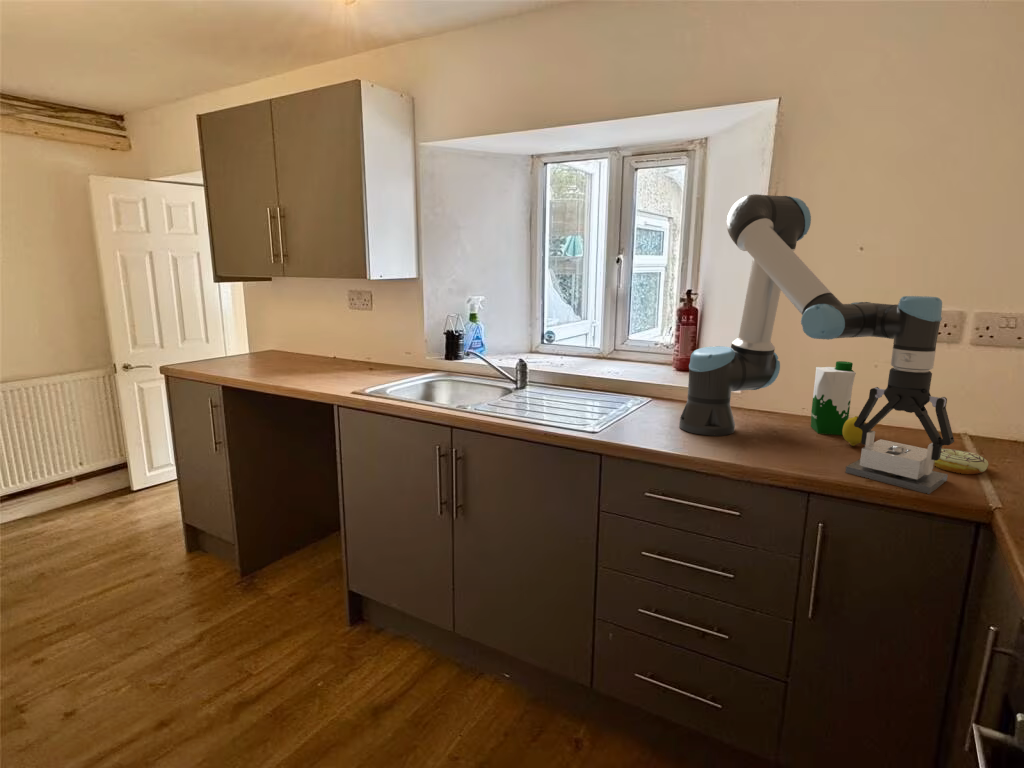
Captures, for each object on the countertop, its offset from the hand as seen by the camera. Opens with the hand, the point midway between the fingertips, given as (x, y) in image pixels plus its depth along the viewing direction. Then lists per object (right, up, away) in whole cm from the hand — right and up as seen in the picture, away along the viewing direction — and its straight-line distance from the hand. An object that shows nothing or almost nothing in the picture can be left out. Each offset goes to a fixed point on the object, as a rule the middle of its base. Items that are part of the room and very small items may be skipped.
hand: (896, 466), depth 125 cm
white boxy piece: (0, 0, 0) cm, 0 cm away
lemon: (+4, +2, +22) cm, 23 cm away
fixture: (0, -2, 0) cm, 3 cm away
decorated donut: (+18, -2, +6) cm, 20 cm away
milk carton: (+5, +5, +36) cm, 36 cm away
